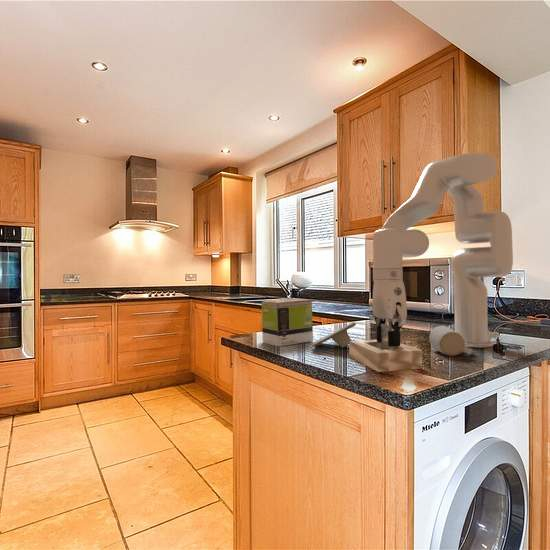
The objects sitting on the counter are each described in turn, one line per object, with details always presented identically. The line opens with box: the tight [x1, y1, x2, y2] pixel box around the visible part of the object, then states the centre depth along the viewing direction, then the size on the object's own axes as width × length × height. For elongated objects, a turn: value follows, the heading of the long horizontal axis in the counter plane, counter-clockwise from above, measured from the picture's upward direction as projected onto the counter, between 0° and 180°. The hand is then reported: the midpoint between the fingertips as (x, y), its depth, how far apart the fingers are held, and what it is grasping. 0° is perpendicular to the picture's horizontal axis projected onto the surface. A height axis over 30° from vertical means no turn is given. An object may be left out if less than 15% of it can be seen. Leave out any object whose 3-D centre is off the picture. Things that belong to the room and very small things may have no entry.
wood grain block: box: [381, 323, 395, 350], centre depth 96 cm, size 4×4×10 cm
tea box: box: [261, 298, 314, 347], centre depth 125 cm, size 15×10×15 cm, turn 124°
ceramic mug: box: [428, 325, 474, 357], centre depth 106 cm, size 11×8×8 cm
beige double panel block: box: [312, 321, 357, 349], centre depth 115 cm, size 16×9×15 cm
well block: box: [348, 339, 423, 373], centre depth 96 cm, size 12×16×4 cm
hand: (388, 343), depth 96 cm, fingers open, 5 cm apart
